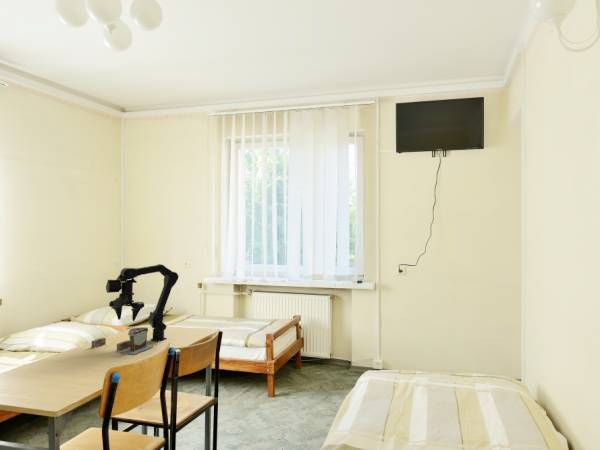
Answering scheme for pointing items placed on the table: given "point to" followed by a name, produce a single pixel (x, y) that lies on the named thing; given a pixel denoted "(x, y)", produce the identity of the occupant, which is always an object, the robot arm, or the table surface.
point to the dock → (103, 341)
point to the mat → (135, 351)
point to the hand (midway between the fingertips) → (126, 320)
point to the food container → (138, 338)
